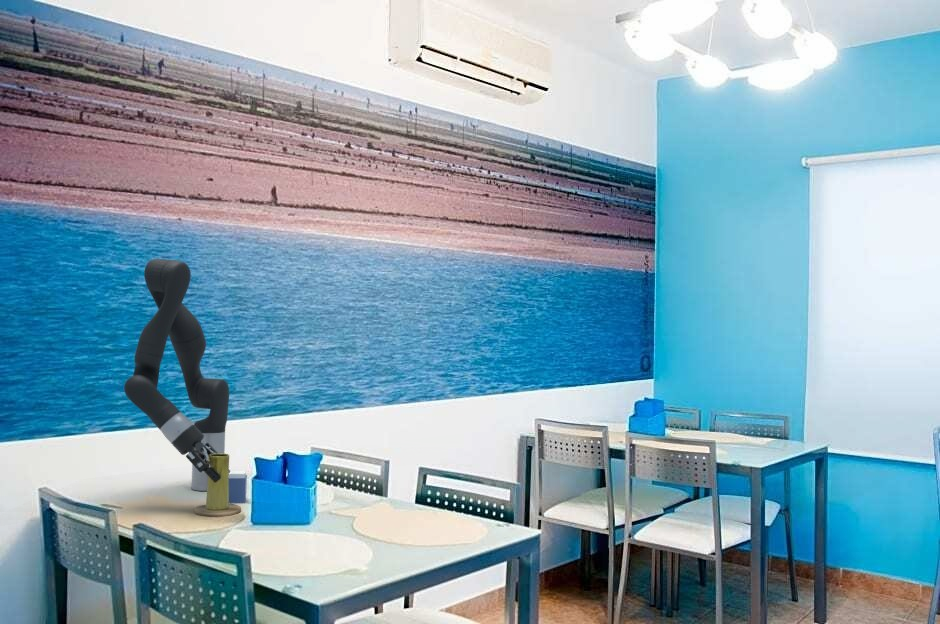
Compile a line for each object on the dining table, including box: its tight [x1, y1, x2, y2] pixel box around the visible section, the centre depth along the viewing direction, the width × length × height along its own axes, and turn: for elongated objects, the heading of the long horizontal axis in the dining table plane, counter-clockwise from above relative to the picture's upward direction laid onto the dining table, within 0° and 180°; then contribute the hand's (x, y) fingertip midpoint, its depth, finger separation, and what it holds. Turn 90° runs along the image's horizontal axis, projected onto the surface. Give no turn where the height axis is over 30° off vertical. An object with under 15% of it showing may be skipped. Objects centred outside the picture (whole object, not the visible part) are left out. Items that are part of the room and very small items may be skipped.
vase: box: [205, 453, 230, 510], centre depth 230 cm, size 6×6×14 cm
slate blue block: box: [229, 470, 248, 504], centre depth 243 cm, size 5×5×8 cm
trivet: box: [194, 503, 242, 518], centre depth 230 cm, size 12×12×1 cm
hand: (223, 477), depth 230 cm, fingers open, 8 cm apart
